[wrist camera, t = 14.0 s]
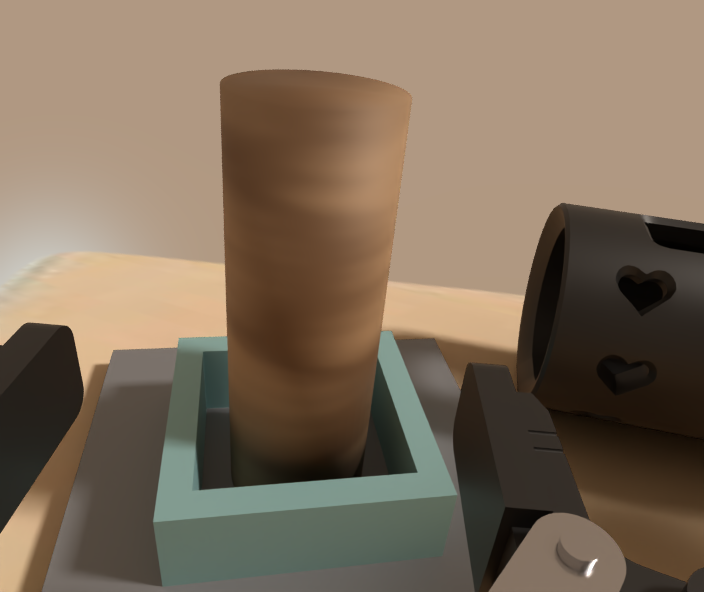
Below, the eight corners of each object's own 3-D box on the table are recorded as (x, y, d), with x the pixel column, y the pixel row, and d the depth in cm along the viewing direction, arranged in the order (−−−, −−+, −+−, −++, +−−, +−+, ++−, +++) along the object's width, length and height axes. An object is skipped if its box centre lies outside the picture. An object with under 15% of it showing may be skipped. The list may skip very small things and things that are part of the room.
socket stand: (431, 353, 31) (443, 289, 29) (581, 666, 18) (622, 588, 16) (116, 366, 28) (104, 296, 26) (7, 755, 15) (-34, 671, 13)
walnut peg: (350, 417, 25) (388, 75, 18) (373, 514, 21) (435, 116, 14) (231, 424, 24) (222, 65, 17) (230, 526, 20) (217, 105, 13)
